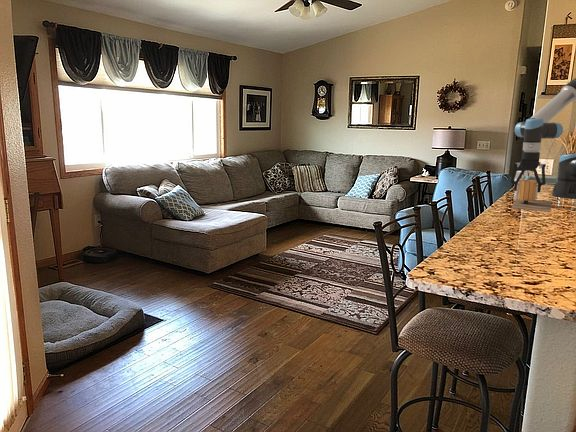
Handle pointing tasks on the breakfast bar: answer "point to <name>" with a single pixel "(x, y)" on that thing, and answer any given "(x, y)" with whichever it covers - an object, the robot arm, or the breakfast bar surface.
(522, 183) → the collar
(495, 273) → the breakfast bar surface
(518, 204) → the plate
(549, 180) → the bar
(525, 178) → the beer glass
